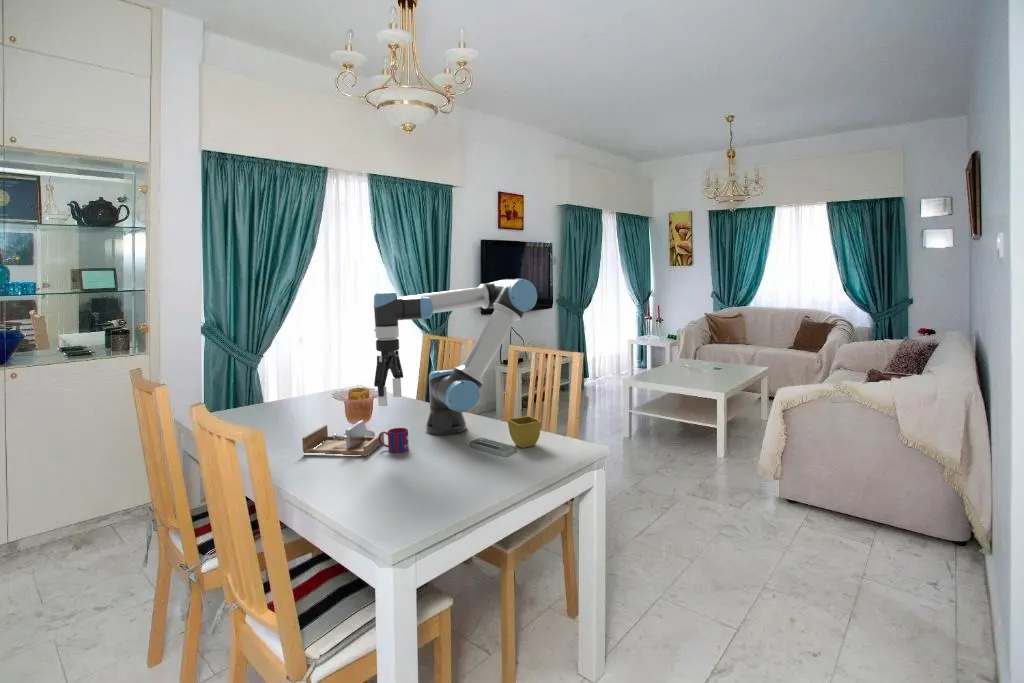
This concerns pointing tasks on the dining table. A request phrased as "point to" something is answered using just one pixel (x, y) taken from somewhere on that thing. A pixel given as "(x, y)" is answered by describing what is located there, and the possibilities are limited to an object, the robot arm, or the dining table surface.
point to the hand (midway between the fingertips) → (390, 401)
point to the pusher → (353, 435)
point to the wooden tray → (337, 444)
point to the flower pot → (524, 431)
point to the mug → (396, 440)
